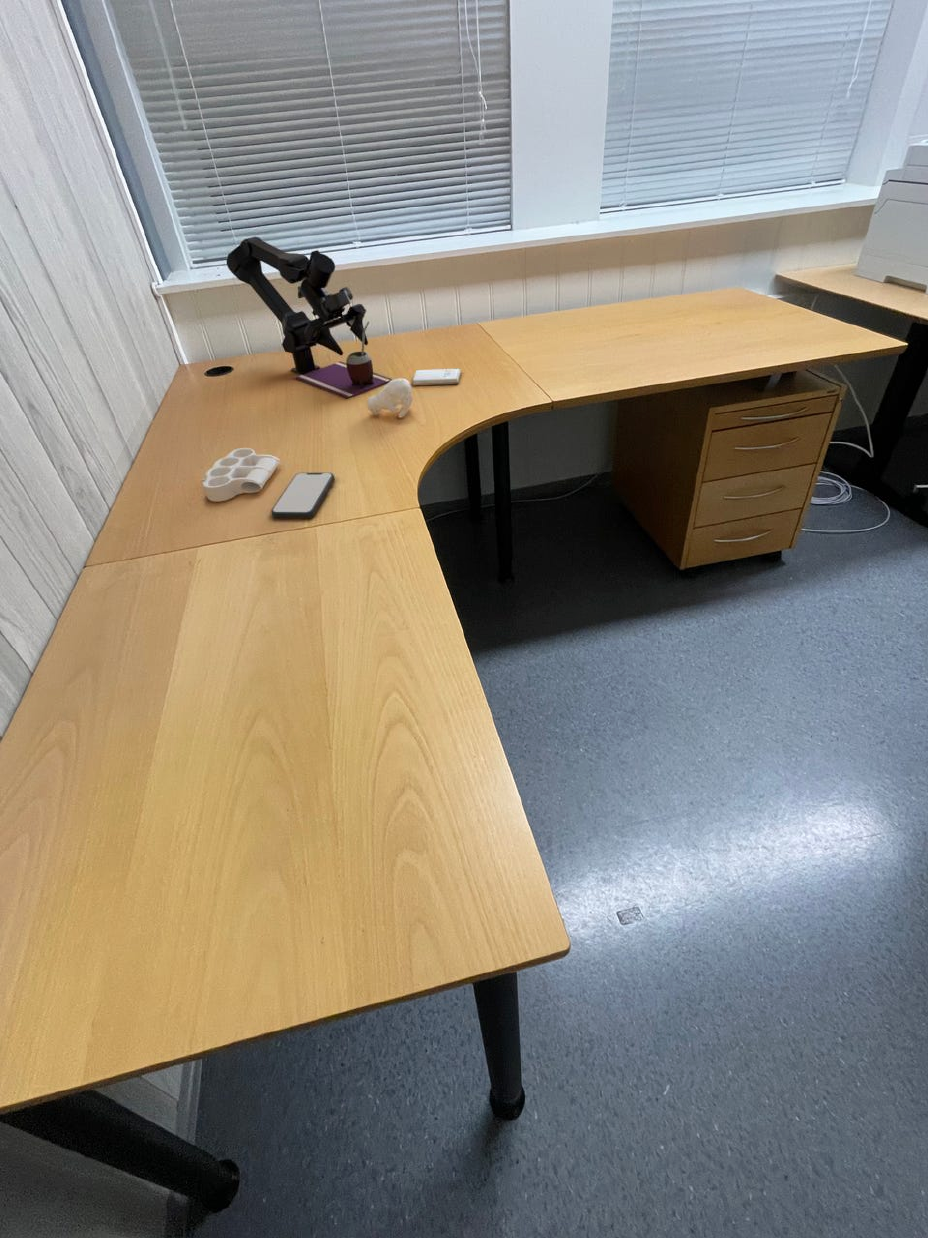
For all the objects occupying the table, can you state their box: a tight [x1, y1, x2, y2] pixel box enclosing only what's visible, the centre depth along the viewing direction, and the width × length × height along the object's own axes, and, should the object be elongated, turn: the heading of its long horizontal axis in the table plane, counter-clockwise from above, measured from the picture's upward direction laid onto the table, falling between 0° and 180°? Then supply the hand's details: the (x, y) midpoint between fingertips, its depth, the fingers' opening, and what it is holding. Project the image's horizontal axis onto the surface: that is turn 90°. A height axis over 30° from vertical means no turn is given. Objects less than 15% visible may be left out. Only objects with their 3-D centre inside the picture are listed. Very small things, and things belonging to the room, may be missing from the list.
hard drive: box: [412, 368, 461, 386], centre depth 168 cm, size 2×8×12 cm
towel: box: [295, 361, 394, 400], centre depth 174 cm, size 26×16×1 cm, turn 44°
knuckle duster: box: [201, 447, 281, 503], centre depth 130 cm, size 3×18×15 cm
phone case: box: [270, 472, 335, 520], centre depth 123 cm, size 9×2×16 cm
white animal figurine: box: [366, 378, 413, 419], centre depth 150 cm, size 6×8×12 cm
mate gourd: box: [345, 321, 374, 388], centre depth 164 cm, size 8×8×15 cm
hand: (354, 349), depth 164 cm, fingers open, 9 cm apart
